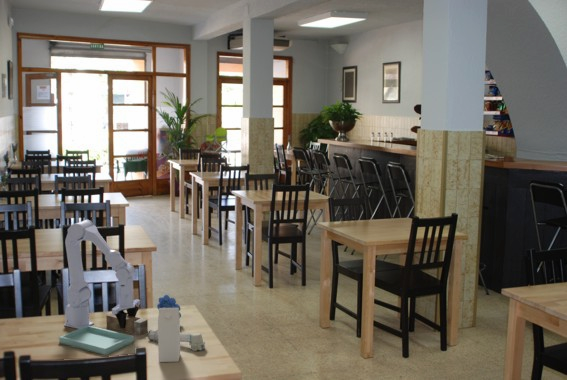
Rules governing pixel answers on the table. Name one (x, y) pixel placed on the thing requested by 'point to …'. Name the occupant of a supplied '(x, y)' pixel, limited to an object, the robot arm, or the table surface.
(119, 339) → the tray
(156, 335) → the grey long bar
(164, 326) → the milk carton
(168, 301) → the grapes
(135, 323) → the walnut strut
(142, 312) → the table surface
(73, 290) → the robot arm
